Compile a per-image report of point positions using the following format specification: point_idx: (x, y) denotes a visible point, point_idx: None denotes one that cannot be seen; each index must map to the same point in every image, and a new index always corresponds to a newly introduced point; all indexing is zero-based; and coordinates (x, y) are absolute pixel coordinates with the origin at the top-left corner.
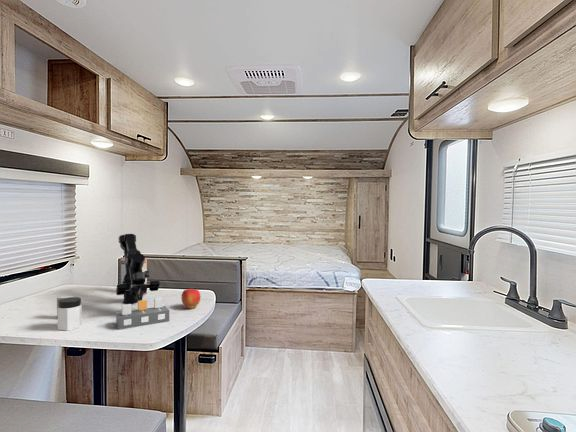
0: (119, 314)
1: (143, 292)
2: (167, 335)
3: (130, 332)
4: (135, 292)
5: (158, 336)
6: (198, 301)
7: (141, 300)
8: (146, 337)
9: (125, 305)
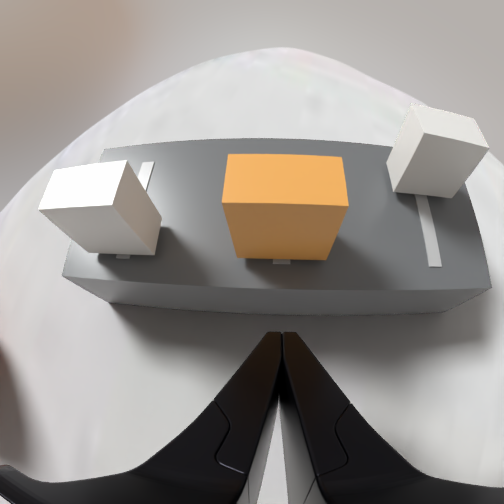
0: (466, 226)
1: (179, 438)
2: (225, 64)
3: (364, 136)
4: (396, 463)
5: (257, 66)
6: None
7: (295, 196)
8: (300, 73)
9: (457, 118)
